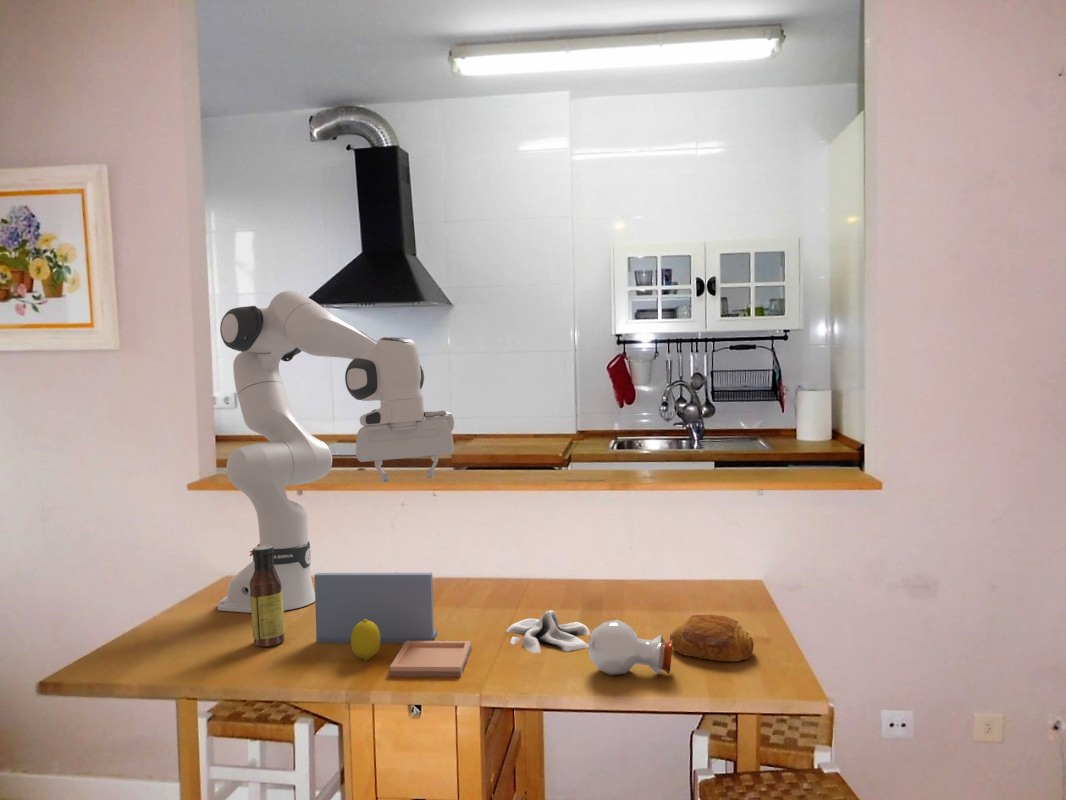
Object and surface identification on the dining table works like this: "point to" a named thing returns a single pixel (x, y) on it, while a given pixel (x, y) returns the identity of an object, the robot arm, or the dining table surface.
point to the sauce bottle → (266, 600)
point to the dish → (431, 659)
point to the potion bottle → (627, 649)
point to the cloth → (549, 633)
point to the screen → (374, 606)
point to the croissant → (712, 638)
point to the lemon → (365, 639)
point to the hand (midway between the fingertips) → (408, 479)
